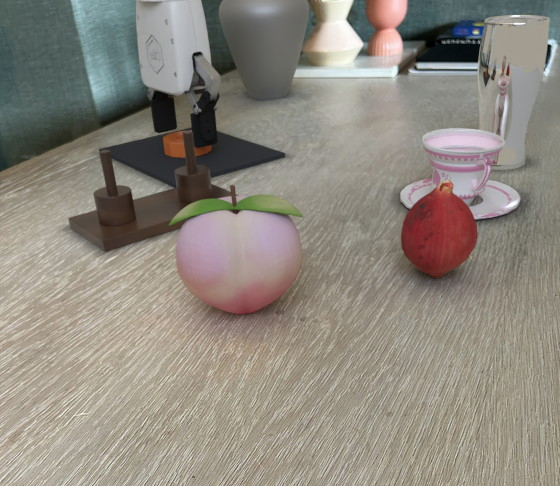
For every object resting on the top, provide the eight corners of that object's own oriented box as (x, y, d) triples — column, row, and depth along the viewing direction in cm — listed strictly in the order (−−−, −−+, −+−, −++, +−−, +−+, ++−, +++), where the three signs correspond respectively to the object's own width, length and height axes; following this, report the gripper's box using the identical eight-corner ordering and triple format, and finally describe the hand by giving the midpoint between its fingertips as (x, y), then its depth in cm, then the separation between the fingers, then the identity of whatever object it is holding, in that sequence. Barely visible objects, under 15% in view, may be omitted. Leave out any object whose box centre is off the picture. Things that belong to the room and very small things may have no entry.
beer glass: (505, 175, 75) (526, 25, 66) (454, 163, 79) (468, 20, 71) (541, 161, 78) (565, 16, 70) (490, 150, 83) (508, 13, 74)
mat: (99, 153, 90) (98, 148, 89) (200, 129, 98) (200, 125, 97) (175, 188, 76) (174, 183, 76) (285, 157, 84) (285, 152, 84)
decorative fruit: (294, 281, 55) (290, 160, 50) (312, 331, 49) (309, 197, 43) (181, 294, 55) (163, 171, 49) (183, 345, 48) (163, 211, 42)
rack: (70, 229, 68) (52, 150, 63) (204, 190, 75) (196, 118, 71) (105, 252, 62) (87, 169, 58) (245, 208, 70) (239, 131, 66)
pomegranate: (417, 298, 52) (425, 198, 47) (387, 268, 57) (391, 174, 52) (484, 286, 53) (498, 187, 49) (449, 257, 58) (459, 164, 53)
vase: (208, 100, 113) (190, -78, 99) (261, 84, 122) (252, -81, 108) (276, 109, 106) (267, -83, 92) (327, 91, 115) (326, -86, 101)
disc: (156, 151, 87) (154, 136, 86) (195, 141, 90) (194, 127, 89) (180, 160, 83) (178, 145, 82) (220, 150, 86) (219, 136, 85)
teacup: (379, 192, 72) (381, 133, 69) (476, 175, 75) (483, 118, 72) (436, 230, 63) (442, 164, 59) (545, 210, 66) (556, 146, 62)
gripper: (103, -17, 80) (127, 131, 90) (177, -10, 68) (196, 158, 78) (159, -22, 84) (176, 120, 93) (238, -17, 72) (248, 145, 82)
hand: (185, 137), depth 86 cm, fingers open, 9 cm apart
